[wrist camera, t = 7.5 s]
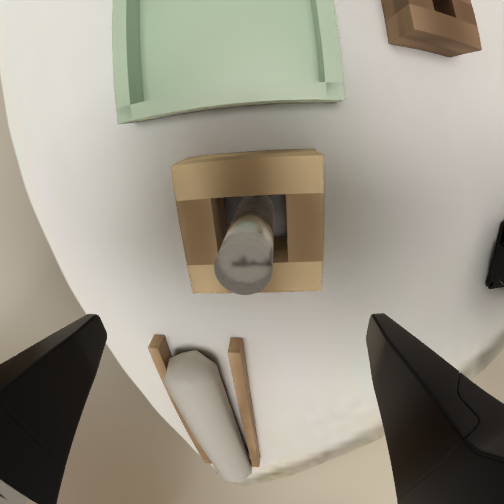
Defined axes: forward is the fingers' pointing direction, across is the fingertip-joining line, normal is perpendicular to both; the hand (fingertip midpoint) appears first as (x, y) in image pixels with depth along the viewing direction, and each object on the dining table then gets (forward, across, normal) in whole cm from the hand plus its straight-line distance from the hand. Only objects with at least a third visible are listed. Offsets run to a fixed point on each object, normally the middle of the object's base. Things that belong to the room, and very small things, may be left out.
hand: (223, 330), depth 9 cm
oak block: (+12, 0, 0) cm, 12 cm away
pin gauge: (+12, 0, 0) cm, 12 cm away
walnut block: (+12, -12, -14) cm, 22 cm away
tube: (+12, +6, +24) cm, 28 cm away
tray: (+12, +1, -14) cm, 18 cm away
